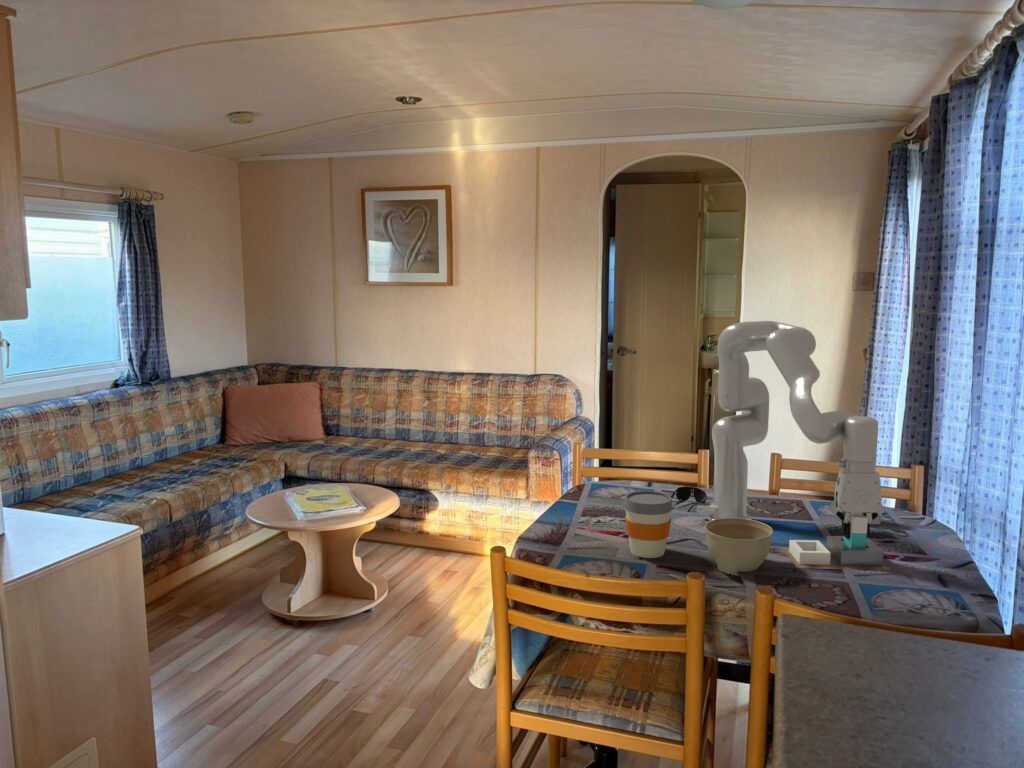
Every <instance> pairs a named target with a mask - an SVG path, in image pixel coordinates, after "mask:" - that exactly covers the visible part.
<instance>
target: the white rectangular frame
mask: <svg viewBox="0 0 1024 768" xmlns="http://www.w3.org/2000/svg"><path fill="white" fill-rule="evenodd" d="M788 543H789V544H788V547H789V552H790V553H791V554H792V555H793V557H794V558H795V559H796V560H797V562H798V563H799V564H825V565H830V555H831V553H830V552H829V551H828V550H827V549H826V548H827V547H826V546H825V545H824V544H823V543H822V542H821V541H820V540H818V539H817V540H816V539H815V540H812V539H811V540H809V539H789V542H788Z"/></svg>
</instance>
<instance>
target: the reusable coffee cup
mask: <svg viewBox="0 0 1024 768" xmlns="http://www.w3.org/2000/svg"><path fill="white" fill-rule="evenodd" d="M670 496H671V495H669V494H667V493H664V492H661V491H653V490H637V491H631V492H629V493H627V494H625V495H624V504H623V505H624V506H623V508H624V509H625V514H626V515H625V516H624V519H625V520H624V521H625V529H626V534H627V536H628V542H629V549H630V552H631V554H632V555H633V556H636V557H639V558H644V559H656V558H660V557H663V556H664V555H665V551H666V546H667V538H668V537H669V536H670V529H671V525H672V524H671V523H672V522H671V521H672V518H671V512H672V511H673V501H672V499H673V498H671V497H670Z"/></svg>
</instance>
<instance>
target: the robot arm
mask: <svg viewBox="0 0 1024 768" xmlns="http://www.w3.org/2000/svg"><path fill="white" fill-rule="evenodd" d="M816 346H817V341H816V338H815V336H814V334H813V333H812V332H811V331H810V330H809V329H807V328H805V327H802V326H798V325H792V324H787V323H785V322H784V323H783V322H779V321H773V320H761V321H758V320H756V321H752V320H751V321H740V322H737V323H732V324H730V325H728V326H726V328H724V329H723V330H722V331H721V333H720V335H719V337H718V339H717V356H718V379H717V380H718V382H717V383H718V386H717V388H718V389H717V398H718V399H717V401H718V406H719V407H720V408H721V410H723V411H724V412H729V413H731V412H732V413H735V412H736V413H738V412H741V414H735V415H730V416H729V415H728V416H724V417H722V418H719V419H718V420H717V421H716V422H715V423H714V424H713V426H712V429H711V438H712V444H713V451H714V452H713V453H714V459H713V460H714V464H713V465H714V466H713V467H714V468H713V474H714V475H713V502H712V501H711V502H710V504H708V505H707V506H704V505H696V511H697V512H696V513H702V515H707V519H708V522H709V521H711V520H714V519H719V518H743V519H750V520H752V517H751V515H749V514H747V503H748V502H747V499H748V477H749V475H748V473H749V472H748V471H749V470H748V469H749V465H748V464H749V463H748V458H747V456H746V453H745V450H744V447H745V448H746V447H749V446H754V445H758V444H761V443H762V442H764V441H765V440H766V437H767V436H768V432H769V421H770V419H769V418H770V417H769V416H770V392H769V389H768V387H767V384H766V383H765V382H764V381H763V380H762V379H760V378H758V377H752V376H750V363H749V361H748V360H749V359H748V357H747V355H746V354H745V353H749V352H761V351H767V353H768V355H769V357H770V358H771V360H772V361H773V363H774V364H775V366H776V368H777V370H778V371H779V372H780V374H781V375H782V377H783V379H784V381H785V382H786V384H787V386H788V388H789V409H790V412H791V416H792V417H793V419H794V422H795V423H796V425H797V427H798V428H799V430H800V431H801V433H802V434H803V436H805V437H806V438H807V440H809V442H812V443H815V444H827V443H831V442H837V441H839V442H840V441H843V447H842V448H843V450H842V451H843V453H842V458H841V460H840V461H837V462H836V466H837V467H840V468H841V469H839V472H838V475H837V479H836V482H835V489H834V497H833V498H834V499H833V500H832V502H831V503H830V504H829V506H828V508H827V510H828V511H829V512H830V513H832V514H833V515H835V516H837V517H838V518H839V519H840V520H841V530H840V532H841V534H842V536H845V537H846V538H847V539H849V538H850V526H851V524H850V523H849V518H850V513H863V514H864V515H865V516H866V517H867V518H868V522H867V539H868V538H869V535H870V531H871V530H870V529H871V525H872V524H871V523H872V521H873V520H874V519H875V518H876V517H877V516H878V515H881V516H882V515H883V514H885V513H886V509H885V507H884V505H883V502H882V501H883V497H882V484H881V483H882V482H881V477H880V472H878V471H877V456H878V455H877V453H878V440H879V439H878V436H879V422H878V420H877V419H876V418H874V417H871V416H865V415H857V414H854V413H851V412H849V411H844V410H834V411H826V412H821V411H820V409H819V408H818V406H817V405H816V402H815V401H814V399H813V396H812V387H813V386H814V384H815V383H817V381H818V380H819V378H820V376H821V372H820V370H819V368H818V367H817V365H816V364H815V362H814V361H813V359H812V358H811V356H812V354H814V352H815V350H816V348H817V347H816ZM837 508H838V509H837Z"/></svg>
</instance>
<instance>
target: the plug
mask: <svg viewBox="0 0 1024 768" xmlns="http://www.w3.org/2000/svg"><path fill="white" fill-rule="evenodd" d="M867 522H868V518H867V517H866V516H865V515H864V514H862V513H850V518H849V523H850V524H851V526H850V538H849V539H847V538H846V537H845V536H844V543H845V544H846V545H847V546H848V547H849V548H866V539H867Z"/></svg>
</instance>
